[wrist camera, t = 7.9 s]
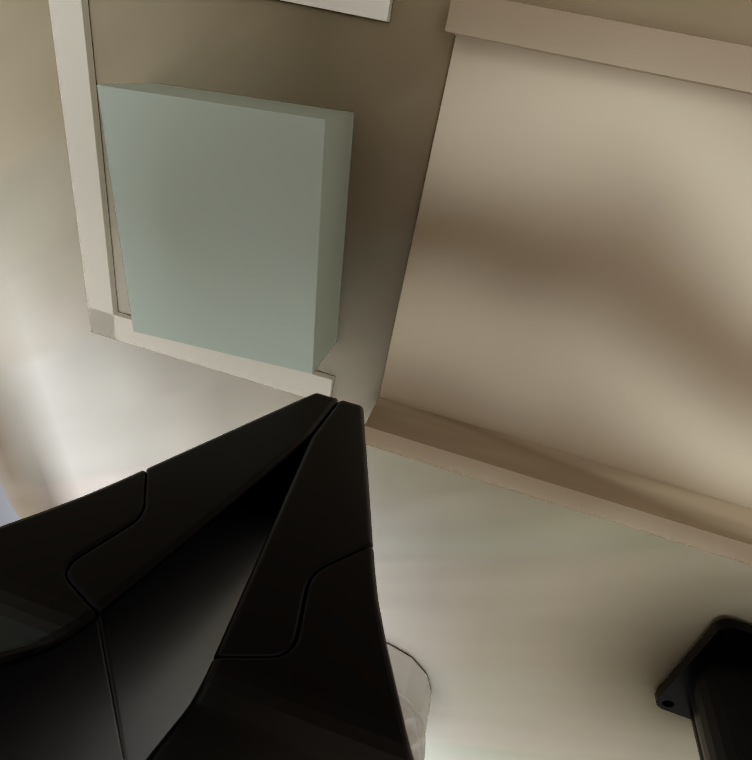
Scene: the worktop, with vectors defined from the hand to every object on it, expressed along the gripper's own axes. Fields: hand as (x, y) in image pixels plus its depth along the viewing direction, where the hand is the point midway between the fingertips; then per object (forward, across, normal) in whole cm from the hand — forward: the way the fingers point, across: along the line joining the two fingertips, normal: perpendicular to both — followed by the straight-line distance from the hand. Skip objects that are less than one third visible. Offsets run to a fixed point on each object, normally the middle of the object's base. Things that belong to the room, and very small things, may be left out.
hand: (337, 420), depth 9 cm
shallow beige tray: (+10, -7, 0) cm, 13 cm away
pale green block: (+11, +7, +1) cm, 13 cm away
